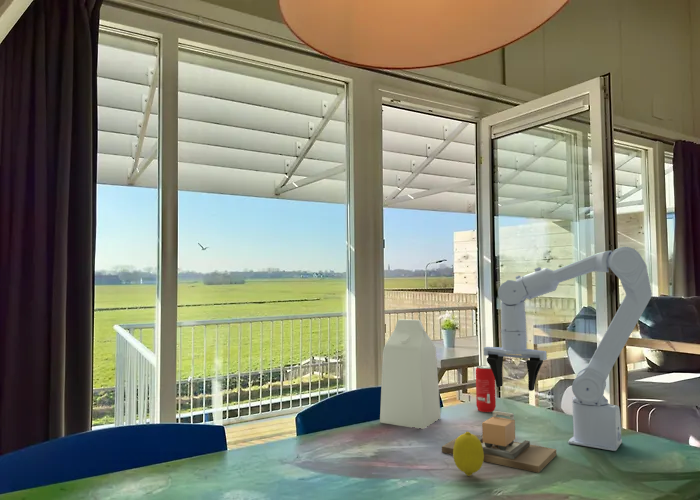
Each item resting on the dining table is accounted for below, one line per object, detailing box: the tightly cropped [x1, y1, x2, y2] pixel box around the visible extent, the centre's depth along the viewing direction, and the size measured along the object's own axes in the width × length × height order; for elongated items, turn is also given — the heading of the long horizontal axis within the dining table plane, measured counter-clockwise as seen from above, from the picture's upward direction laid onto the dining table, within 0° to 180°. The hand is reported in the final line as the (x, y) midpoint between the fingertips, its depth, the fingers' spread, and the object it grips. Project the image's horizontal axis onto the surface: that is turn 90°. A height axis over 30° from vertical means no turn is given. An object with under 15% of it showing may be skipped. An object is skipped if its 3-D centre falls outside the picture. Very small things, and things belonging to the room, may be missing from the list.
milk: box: [379, 318, 441, 430], centre depth 134 cm, size 12×12×26 cm
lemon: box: [452, 431, 484, 477], centre depth 95 cm, size 6×6×8 cm
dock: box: [441, 432, 557, 473], centre depth 106 cm, size 20×12×2 cm, turn 53°
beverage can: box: [475, 365, 497, 413], centre depth 143 cm, size 5×5×12 cm
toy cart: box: [481, 410, 516, 450], centre depth 107 cm, size 6×5×6 cm
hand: (515, 388), depth 122 cm, fingers open, 7 cm apart
